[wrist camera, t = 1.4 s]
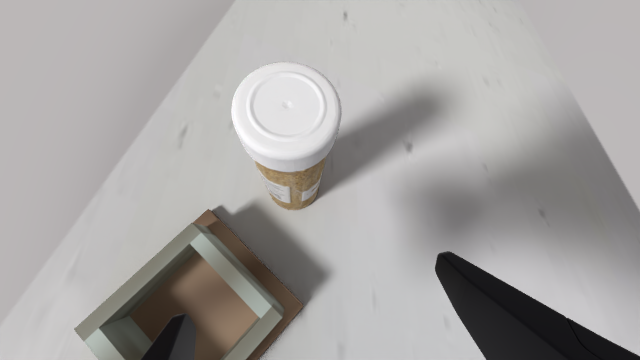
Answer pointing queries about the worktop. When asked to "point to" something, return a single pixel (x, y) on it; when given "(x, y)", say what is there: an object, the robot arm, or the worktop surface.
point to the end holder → (195, 299)
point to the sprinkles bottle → (287, 128)
